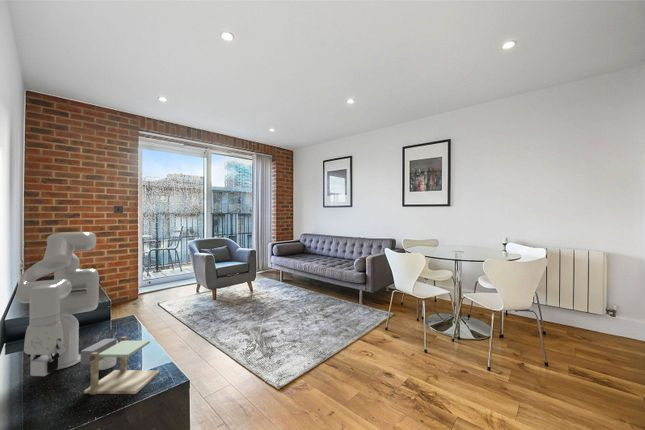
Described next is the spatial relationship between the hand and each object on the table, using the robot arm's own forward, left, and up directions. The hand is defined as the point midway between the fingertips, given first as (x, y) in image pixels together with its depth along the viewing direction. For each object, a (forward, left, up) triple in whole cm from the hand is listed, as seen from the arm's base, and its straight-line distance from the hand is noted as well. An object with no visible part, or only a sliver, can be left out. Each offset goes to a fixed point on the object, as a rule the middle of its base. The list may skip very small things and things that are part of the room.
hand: (45, 369), depth 95 cm
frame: (+19, +13, -12) cm, 26 cm away
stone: (0, 0, -1) cm, 1 cm away
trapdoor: (+15, +13, -2) cm, 20 cm away
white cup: (+1, +25, -12) cm, 28 cm away
